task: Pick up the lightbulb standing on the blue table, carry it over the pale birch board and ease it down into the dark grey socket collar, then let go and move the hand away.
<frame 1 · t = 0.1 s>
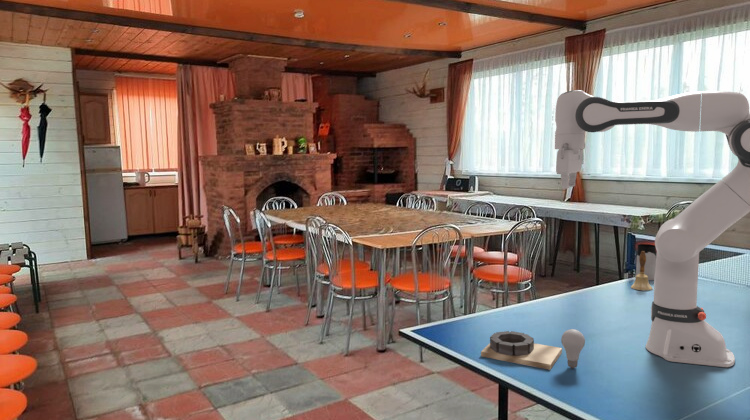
hand: (568, 187, 170), 48 cm above the table, tool pointing down, fingers open, 8 cm apart
lightbulb: (572, 368, 149), on the table
socket board: (521, 354, 159), on the table
hand bell: (641, 288, 230), on the table
glass holder: (643, 276, 250), on the table
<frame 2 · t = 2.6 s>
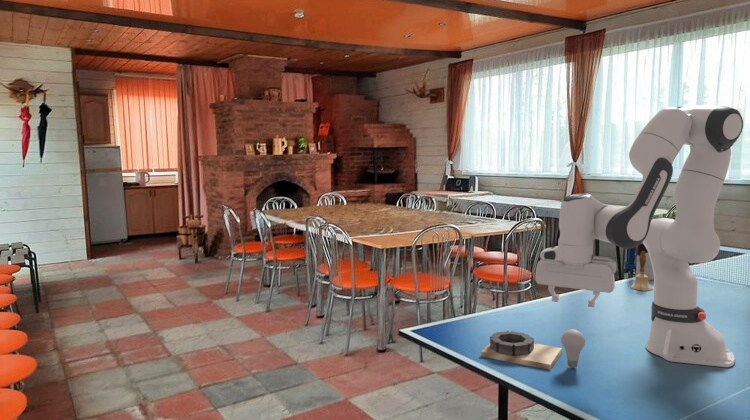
hand: (573, 303, 147), 18 cm above the table, tool pointing down, fingers open, 8 cm apart
nothing on the table moved.
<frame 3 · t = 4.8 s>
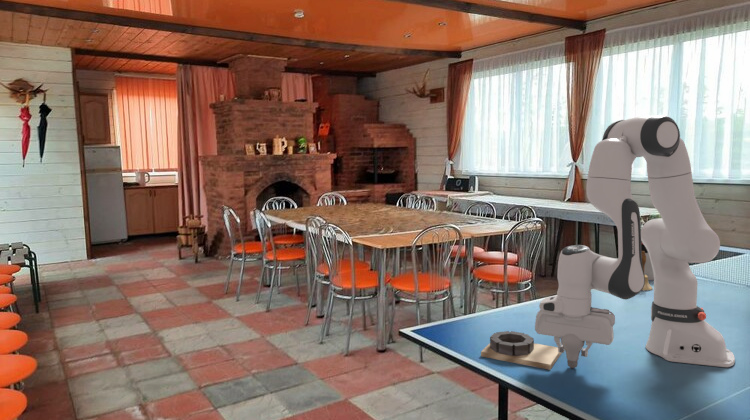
hand: (572, 353, 149), 4 cm above the table, tool pointing down, fingers closed on lightbulb, 5 cm apart
lightbulb: (572, 368, 149), on the table, touching gripper
everything else where it was.
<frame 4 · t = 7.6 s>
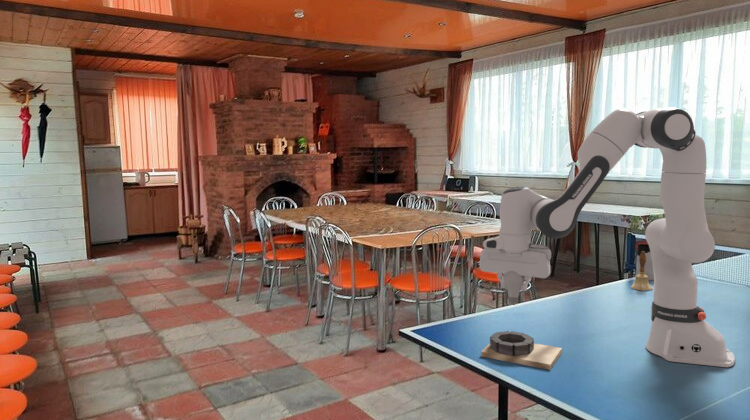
hand: (513, 289, 158), 20 cm above the table, tool pointing down, fingers closed on lightbulb, 4 cm apart
lightbulb: (513, 305, 159), point 15 cm above the table, touching gripper
everything else where it was.
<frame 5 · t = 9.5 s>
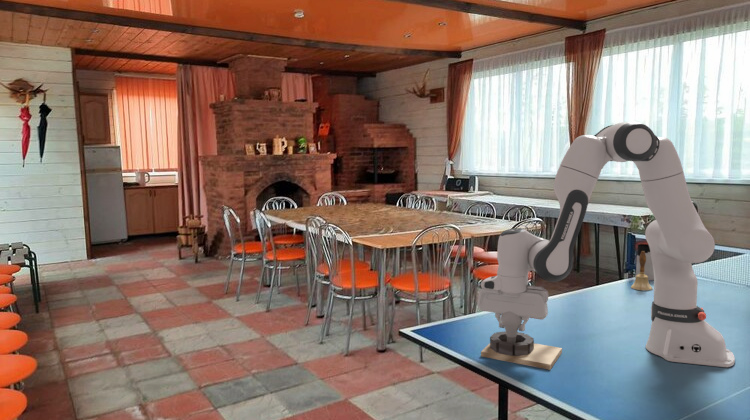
hand: (511, 328, 160), 7 cm above the table, tool pointing down, fingers closed on lightbulb, 4 cm apart
lightbulb: (511, 344, 161), point 2 cm above the table, touching gripper
everything else where it was.
when the fingers open (6 cm above the table, at t = 10.8 s): lightbulb stays where it is, resting on socket board.
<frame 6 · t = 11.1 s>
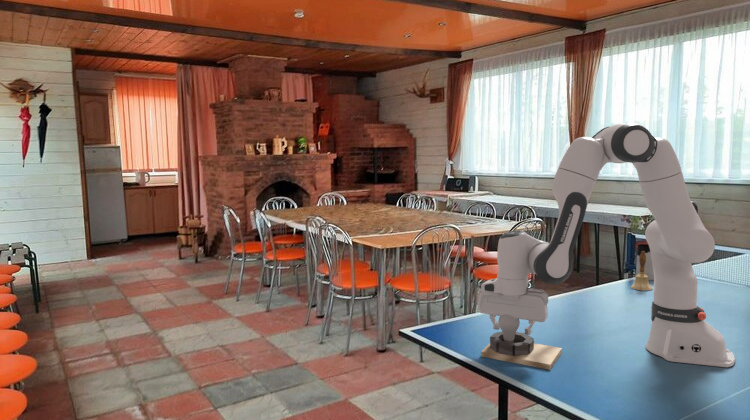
hand: (512, 331, 160), 7 cm above the table, tool pointing down, fingers open, 8 cm apart
lightbulb: (508, 348, 161), point 1 cm above the table, touching socket board
everything else where it was.
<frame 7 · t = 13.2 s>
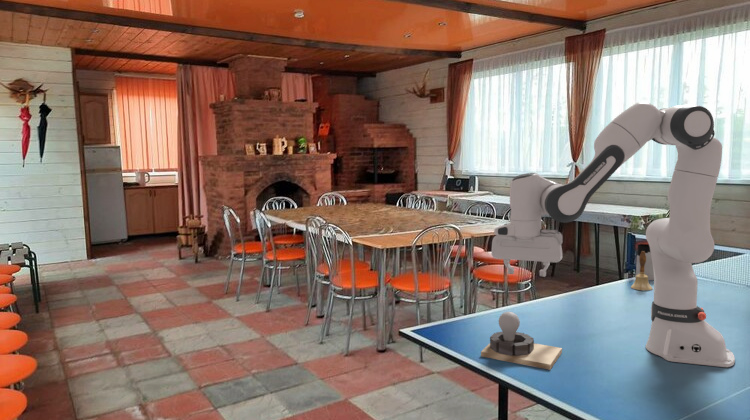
hand: (526, 274, 160), 23 cm above the table, tool pointing down, fingers open, 8 cm apart
nothing on the table moved.
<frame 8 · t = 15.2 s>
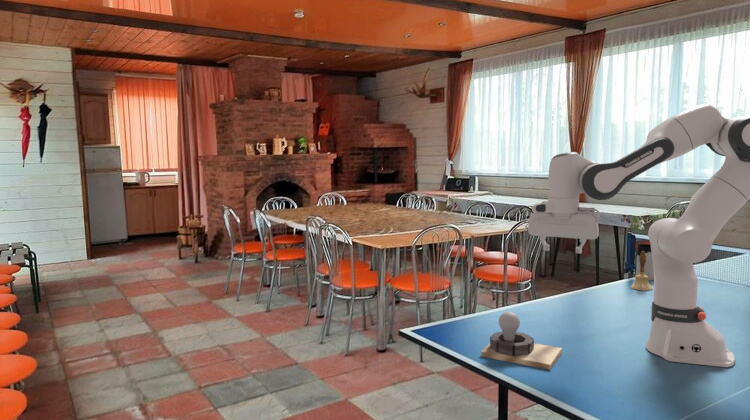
hand: (562, 251, 164), 29 cm above the table, tool pointing down, fingers open, 8 cm apart
nothing on the table moved.
at the end: lightbulb 0.9 cm from the target spot on the socket board, point 1.3 cm above the socket board's base; lightbulb tilted 0°; the gripper is holding nothing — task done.
